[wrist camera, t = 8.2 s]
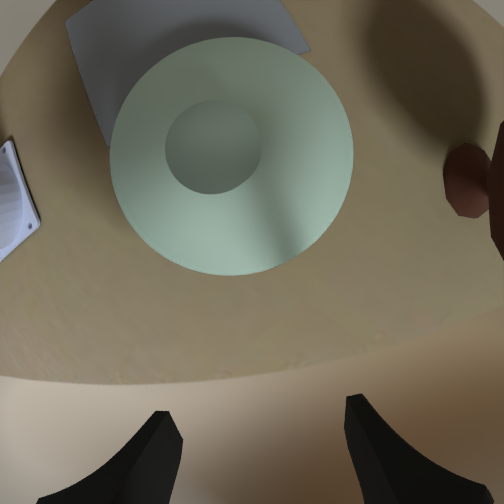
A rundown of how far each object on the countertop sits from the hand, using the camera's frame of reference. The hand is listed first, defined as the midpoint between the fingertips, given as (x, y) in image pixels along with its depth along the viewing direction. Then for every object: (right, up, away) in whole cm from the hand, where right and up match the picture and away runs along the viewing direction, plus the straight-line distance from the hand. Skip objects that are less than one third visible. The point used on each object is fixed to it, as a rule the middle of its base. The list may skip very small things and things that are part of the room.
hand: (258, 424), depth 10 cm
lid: (-1, +11, +2) cm, 12 cm away
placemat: (-6, +22, +4) cm, 23 cm away
